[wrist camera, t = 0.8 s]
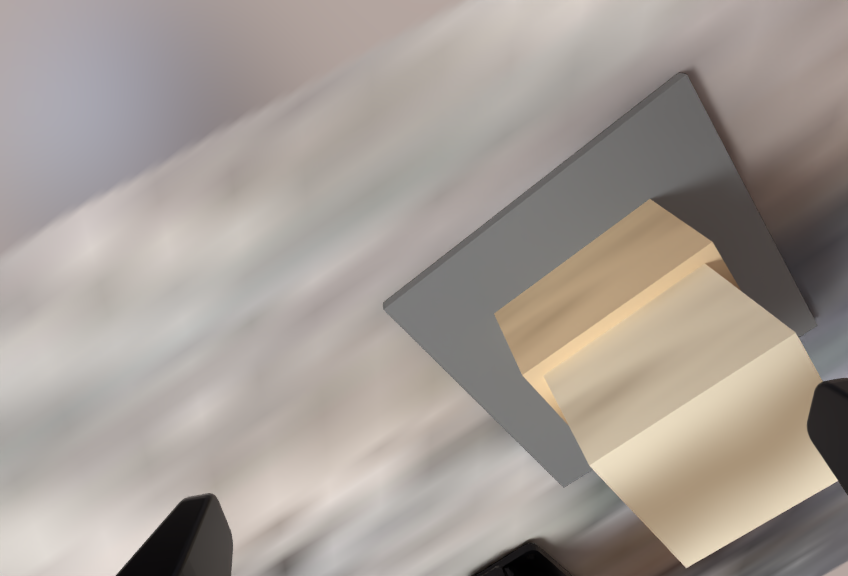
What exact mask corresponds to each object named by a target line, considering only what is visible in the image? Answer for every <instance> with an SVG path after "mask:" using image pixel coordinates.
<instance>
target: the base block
mask: <svg viewBox="0 0 848 576" xmlns="http://www.w3.org/2000/svg"><path fill="white" fill-rule="evenodd" d="M703 264H706V265H707V266H709V267H710V268H711V269H713V270H714V271H715V272H717V273H718V274H719V275H721V276H722V277H723V278H725V279H726V280H727V281H728V282H730V283H731V284H732V285H734V286H735V287H736V288H738V289H739V290H740V288H739V286H738V284H737V283H736V281H735V279H734V278H733V276H732V274H731V273H730V271H729V269H728V267H727V266H726V264H725V262H724V261H723V259H722V257H721V255H720V254H719V252H718V250H717V249H716V247H715V245H714V244H713V242H712V241H710V240H709V239H708V238H706V237H705V236H703V235H702V234H700V233H699V232H697V231H696V230H694V229H693V228H692V227H690V226H689V225H687V224H686V223H684V222H683V221H681V220H680V219H678V218H677V217H676V216H674V215H673V214H671V213H670V212H668V211H667V210H665V209H664V208H662V207H661V206H660V205H658V204H657V203H655V202H654V201H652V200H651V199H649V200H648V201H646V202H645V203H644V204H642V205H641V206H639V207H638V208H637V209H635V210H634V211H633V212H631V213H630V214H629V215H627V216H626V217H625V218H623V219H622V220H620V221H619V222H618V223H616V224H615V225H614V226H612V227H611V228H610V229H608V230H607V231H606V232H604V233H603V234H601V235H600V236H599V237H597V238H596V239H595V240H593V241H592V242H591V243H589V244H588V245H586V246H585V247H584V248H582V249H581V250H580V251H578V252H577V253H576V254H574V255H573V256H572V257H570V258H569V259H567V260H566V261H565V262H563V263H562V264H561V265H559V266H558V267H557V268H555V269H554V270H553V271H551V272H550V273H548V274H547V275H546V276H544V277H543V278H542V279H540V280H539V281H538V282H536V283H535V284H534V285H532V286H531V287H529V288H528V289H527V290H525V291H524V292H523V293H521V294H520V295H519V296H517V297H516V298H515V299H513V300H512V301H510V302H509V303H508V304H506V305H505V306H504V307H502V308H501V309H500V310H498V311H497V312H496V313H494V315H495V317H496V319H497V321H498V324H499V326H500V328H501V330H502V332H503V335H504V337H505V339H506V341H507V343H508V345H509V348H510V350H511V352H512V354H513V356H514V358H515V361H516V363H517V365H518V367H519V369H520V371H521V374H522V376H523V377H524V378H525V379H526V380H527V381H528V382H529V383H530V384H531V385H532V386H533V387H534V389H535V390H536V391H537V392H538V393H539V394H540V395H541V396H542V397H543V398H544V399H545V400H546V402H547V403H548V404H549V405H550V406H551V407H552V408H553V409H554V410H555V411H556V412H557V413H558V415H559V416H560V417H561V418H562V419H563V420H564V421H565V422H566V423H567V421H566V419H565V417H564V415H563V413H562V411H561V409H560V407H559V406H558V404H557V402H556V400H555V398H554V396H553V394H552V392H551V390H550V388H549V386H548V384H547V382H546V380H545V378H544V376H543V375H545V374H546V373H548V372H549V371H551V370H552V369H553V368H555V367H556V366H558V365H559V364H561V363H562V362H563V361H565V360H566V359H568V358H569V357H571V356H572V355H574V354H575V353H576V352H578V351H579V350H581V349H582V348H584V347H585V346H587V345H588V344H589V343H591V342H592V341H594V340H595V339H597V338H598V337H599V336H601V335H602V334H604V333H605V332H607V331H608V330H610V329H611V328H612V327H614V326H615V325H617V324H618V323H620V322H621V321H623V320H624V319H625V318H627V317H628V316H630V315H631V314H633V313H634V312H636V311H637V310H638V309H640V308H641V307H643V306H644V305H646V304H647V303H648V302H650V301H651V300H653V299H654V298H656V297H657V296H659V295H660V294H661V293H663V292H664V291H666V290H667V289H669V288H670V287H672V286H673V285H674V284H676V283H677V282H679V281H680V280H682V279H683V278H685V277H686V276H687V275H689V274H690V273H692V272H693V271H695V270H696V269H697V268H699V267H700V266H702V265H703ZM740 291H741V290H740ZM567 424H568V423H567Z"/></svg>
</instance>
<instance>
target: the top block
mask: <svg viewBox="0 0 848 576" xmlns="http://www.w3.org/2000/svg"><path fill="white" fill-rule="evenodd" d="M543 376H544V378H545V380H546V382H547V384H548V386H549V388H550V390H551V392H552V394H553V396H554V398H555V400H556V402H557V404H558V406H559V407H560V409H561V411H562V413H563V415H564V417H565V419H566V421H567V423H568V425H569V427H570V429H571V431H572V433H573V435H574V437H575V439H576V441H577V443H578V444H579V446H580V448H581V450H582V452H583V454H584V456H585V458H586V460H587V462H588V464H589V466H590V467H591V468H592V469H593V470H594V471H595V472H596V473H597V474H598V475H599V476H600V477H601V478H602V479H603V480H604V482H605V483H606V484H607V485H608V486H609V487H610V488H611V489H612V490H613V491H614V492H615V493H616V494H617V495H618V496H619V497H620V498H621V500H622V501H623V502H624V503H625V504H626V505H627V506H628V507H629V508H630V509H631V510H632V511H633V512H634V513H635V514H636V515H637V516H638V518H639V519H640V520H641V521H642V522H643V523H644V524H645V525H646V526H647V527H648V528H649V529H650V530H651V531H652V532H653V533H654V534H655V536H656V537H657V538H658V539H659V540H660V541H661V542H662V543H663V544H664V545H665V546H666V547H667V548H668V549H669V550H670V551H671V553H672V554H673V555H674V556H675V557H676V558H677V559H678V560H679V561H680V562H681V563H682V564H683V565H684V566H685V567H686V568H687V567H689V566H691V565H692V564H694V563H696V562H698V561H699V560H701V559H703V558H705V557H706V556H708V555H710V554H712V553H713V552H715V551H717V550H719V549H720V548H722V547H724V546H725V545H727V544H729V543H731V542H732V541H734V540H736V539H738V538H739V537H741V536H743V535H745V534H746V533H748V532H750V531H752V530H753V529H755V528H757V527H758V526H760V525H762V524H764V523H765V522H767V521H769V520H771V519H772V518H774V517H776V516H778V515H779V514H781V513H783V512H785V511H786V510H788V509H790V508H792V507H793V506H795V505H797V504H798V503H800V502H802V501H804V500H805V499H807V498H809V497H811V496H812V495H814V494H816V493H818V492H819V491H821V490H823V489H825V488H826V487H828V486H830V485H832V484H833V483H835V482H837V481H838V480H837V478H836V477H835V475H834V474H833V473H832V471H831V470H830V468H829V467H828V465H827V464H826V462H825V461H824V459H823V458H822V456H821V455H820V453H819V452H818V450H817V449H816V447H815V446H814V444H813V443H812V441H811V440H810V437H809V435H808V432H807V419H808V415H809V411H810V406H811V402H812V398H813V394H814V390H815V388H816V386H817V385H818V384H819V383H821V382H823V381H822V379H821V378H820V376H819V374H818V372H817V370H816V369H815V367H814V365H813V363H812V361H811V359H810V358H809V356H808V354H807V352H806V350H805V349H804V347H803V345H802V343H801V341H800V339H799V338H798V336H797V334H796V333H795V332H794V331H793V330H792V329H790V328H789V327H788V326H786V325H785V324H784V323H782V322H781V321H780V320H778V319H777V318H776V317H774V316H773V315H772V314H771V313H769V312H768V311H767V310H765V309H764V308H763V307H761V306H760V305H759V304H757V303H756V302H755V301H753V300H752V299H751V298H750V297H748V296H747V295H746V294H744V293H743V292H742V291H740V290H739V289H738V288H736V287H735V286H734V285H732V284H731V283H730V282H728V281H727V280H726V279H725V278H723V277H722V276H721V275H719V274H718V273H717V272H715V271H714V270H713V269H711V268H710V267H709V266H707V265H706V264H703V265H702V266H700V267H699V268H697V269H696V270H695V271H693V272H692V273H690V274H689V275H687V276H686V277H685V278H683V279H682V280H680V281H679V282H677V283H676V284H674V285H673V286H672V287H670V288H669V289H667V290H666V291H664V292H663V293H661V294H660V295H659V296H657V297H656V298H654V299H653V300H651V301H650V302H648V303H647V304H646V305H644V306H643V307H641V308H640V309H638V310H637V311H636V312H634V313H633V314H631V315H630V316H628V317H627V318H625V319H624V320H623V321H621V322H620V323H618V324H617V325H615V326H614V327H612V328H611V329H610V330H608V331H607V332H605V333H604V334H602V335H601V336H599V337H598V338H597V339H595V340H594V341H592V342H591V343H589V344H588V345H587V346H585V347H584V348H582V349H581V350H579V351H578V352H576V353H575V354H574V355H572V356H571V357H569V358H568V359H566V360H565V361H563V362H562V363H561V364H559V365H558V366H556V367H555V368H553V369H552V370H551V371H549V372H548V373H546V374H545V375H543Z"/></svg>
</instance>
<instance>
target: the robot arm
mask: <svg viewBox="0 0 848 576" xmlns="http://www.w3.org/2000/svg"><path fill="white" fill-rule="evenodd" d="M807 432H808V435H809V437H810V440H811V441H812V443H813V444H814V446H815V447H816V449H817V450H818V452H819V453H820V455H821V456H822V458H823V459H824V461H825V462H826V464H827V465H828V467H829V468H830V470H831V471H832V473H833V474H834V475H835V477H836V478H837V480H838V481H839V483H840V484H841V486H842V487H843V489H844V490H845V492H846V493H847V495H848V378H840V379H834V380H829V381H824V382H821V383H819V384H818V385H817V386H816V388H815V390H814V394H813V398H812V402H811V406H810V411H809V415H808V419H807ZM232 554H233V540H232V534H231V530H230V528H229V525H228V523H227V520H226V518H225V516H224V513H223V511H222V508H221V506H220V503H219V501H218V499H217V497H216V496H215V495H214V494H211V493H207V494H202V495H196V496H191V497H187V498H184V499H183V500H182V501H181V502H180V503H179V504H178V505H177V506H176V507H175V508H174V509H173V511H172V512H171V513H170V514H169V515H168V516H167V517H166V519H165V520H164V521H163V522H162V523H161V524H160V525H159V527H158V528H157V529H156V530H155V531H154V532H153V534H152V535H151V536H150V537H149V538H148V539H147V540H146V542H145V543H144V544H143V545H142V546H141V547H140V548H139V550H138V551H137V552H136V553H135V554H134V555H133V556H132V558H131V559H130V560H129V561H128V562H127V563H126V564H125V566H124V567H123V568H122V569H121V570H120V571H119V572H118V574H117V575H116V576H231V569H232ZM476 576H572V575H571V574H570V573H568V572H567V571H566V570H565V569H564V568H563V567H562V566H560V565H559V564H558V563H557V562H556V561H555V560H554V559H552V558H551V557H550V556H549V555H548V554H547V553H546V552H544V551H543V550H542V549H541V548H540V547H539V546H537V545H536V544H533V543H529V544H526V545H523V546H522V547H520V548H519V549H517V550H515V551H514V552H512V553H511V554H509V555H507V556H506V557H504V558H503V559H501V560H500V561H498V562H496V563H495V564H493V565H492V566H490V567H488V568H487V569H485V570H484V571H482V572H480V573H479V574H477V575H476Z"/></svg>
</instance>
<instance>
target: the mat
mask: <svg viewBox="0 0 848 576" xmlns="http://www.w3.org/2000/svg"><path fill="white" fill-rule="evenodd" d="M649 199H651V200H652V201H654V202H655V203H657V204H658V205H660V206H661V207H662V208H664V209H665V210H667V211H668V212H670V213H671V214H673V215H674V216H676V217H677V218H678V219H680V220H681V221H683V222H684V223H686V224H687V225H689V226H690V227H692V228H693V229H694V230H696V231H697V232H699V233H700V234H702V235H703V236H705V237H706V238H708V239H709V240H710V241H712V242H713V244H714V245H715V247H716V249H717V250H718V252H719V254H720V255H721V257H722V259H723V261H724V262H725V264H726V266H727V267H728V269H729V271H730V273H731V274H732V276H733V278H734V279H735V281H736V283H737V284H738V286H739V288H740V290H741V291H742V292H743V293H744V294H746V295H747V296H748V297H750V298H751V299H752V300H753V301H755V302H756V303H757V304H759V305H760V306H761V307H763V308H764V309H765V310H767V311H768V312H769V313H771V314H772V315H773V316H774V317H776V318H777V319H778V320H780V321H781V322H782V323H784V324H785V325H786V326H788V327H789V328H790V329H792V330H793V331H794V332H795V333H796V334H797V336H798V338H799V337H801V336H802V335H804V334H805V333H807V332H808V331H810V330H811V329H813V328H815V327H816V326H818V325H817V323H816V322H815V320H814V318H813V316H812V314H811V312H810V310H809V308H808V306H807V304H806V302H805V300H804V298H803V297H802V295H801V293H800V291H799V289H798V287H797V285H796V283H795V281H794V279H793V277H792V275H791V274H790V272H789V270H788V268H787V266H786V264H785V262H784V260H783V258H782V256H781V254H780V252H779V250H778V249H777V247H776V245H775V243H774V241H773V239H772V237H771V235H770V233H769V231H768V229H767V227H766V225H765V224H764V222H763V220H762V218H761V216H760V214H759V212H758V210H757V208H756V206H755V204H754V202H753V200H752V199H751V197H750V195H749V193H748V191H747V189H746V187H745V185H744V183H743V181H742V179H741V177H740V176H739V174H738V172H737V170H736V168H735V166H734V164H733V162H732V160H731V158H730V156H729V154H728V152H727V151H726V149H725V147H724V145H723V143H722V141H721V139H720V137H719V135H718V133H717V131H716V129H715V127H714V126H713V124H712V122H711V120H710V118H709V116H708V114H707V112H706V110H705V108H704V106H703V104H702V103H701V101H700V99H699V97H698V95H697V93H696V91H695V89H694V87H693V85H692V83H691V81H690V79H689V78H688V76H687V74H683V73H678V74H676V75H675V76H674V77H672V78H671V79H670V80H669V81H667V82H666V83H665V84H663V85H662V86H661V87H660V88H658V89H657V90H656V91H654V92H653V93H652V94H651V95H649V96H648V97H647V98H646V99H644V100H643V101H642V102H640V103H639V104H638V105H637V106H635V107H634V108H633V109H631V110H630V111H629V112H628V113H626V114H625V115H624V116H622V117H621V118H620V119H619V120H617V121H616V122H615V123H613V124H612V125H611V126H610V127H608V128H607V129H606V130H604V131H603V132H602V133H601V134H599V135H598V136H597V137H595V138H594V139H593V140H592V141H590V142H589V143H588V144H586V145H585V146H584V147H583V148H581V149H580V150H579V151H577V152H576V153H575V154H574V155H572V156H571V157H570V158H569V159H567V160H566V161H565V162H563V163H562V164H561V165H560V166H558V167H557V168H556V169H554V170H553V171H552V172H551V173H549V174H548V175H547V176H545V177H544V178H543V179H542V180H540V181H539V182H538V183H536V184H535V185H534V186H533V187H531V188H530V189H529V190H527V191H526V192H525V193H524V194H522V195H521V196H520V197H518V198H517V199H516V200H515V201H513V202H512V203H511V204H509V205H508V206H507V207H506V208H504V209H503V210H502V211H500V212H499V213H498V214H497V215H495V216H494V217H493V218H491V219H490V220H489V221H488V222H486V223H485V224H484V225H483V226H481V227H480V228H479V229H477V230H476V231H475V232H474V233H472V234H471V235H470V236H468V237H467V238H466V239H465V240H463V241H462V242H461V243H459V244H458V245H457V246H456V247H454V248H453V249H452V250H450V251H449V252H448V253H447V254H445V255H444V256H443V257H441V258H440V259H439V260H438V261H436V262H435V263H434V264H432V265H431V266H430V267H429V268H427V269H426V270H425V271H423V272H422V273H421V274H420V275H418V276H417V277H416V278H414V279H413V280H412V281H411V282H409V283H408V284H407V285H406V286H404V287H403V288H402V289H400V290H399V291H398V292H397V293H395V294H394V295H393V296H391V297H390V298H389V299H388V300H386V301H385V302H384V303H383V309H384V310H385V311H386V312H387V313H388V314H389V315H390V316H391V317H392V318H393V319H394V320H395V321H396V322H397V323H398V324H399V325H400V326H401V327H402V328H403V329H404V330H405V331H406V332H407V333H408V334H409V335H410V336H411V337H412V338H413V339H414V340H415V341H416V342H417V343H418V344H419V345H420V346H421V347H422V348H423V349H424V350H425V351H426V352H427V353H428V354H429V355H430V356H431V357H432V358H433V359H434V360H435V361H436V362H437V363H438V364H439V365H440V366H441V367H442V368H443V369H444V370H445V371H446V372H447V373H448V374H449V375H450V376H451V377H452V378H453V379H454V380H455V381H456V382H457V383H458V384H459V385H460V386H461V387H462V388H463V389H464V390H465V391H466V392H467V393H468V394H469V395H471V396H472V397H473V398H474V399H475V400H476V401H477V402H478V403H479V404H480V405H481V406H482V407H483V408H484V409H485V410H486V411H487V412H488V413H489V414H490V415H491V416H492V417H493V418H494V419H495V420H496V421H497V422H498V423H499V424H500V425H501V426H502V427H503V428H504V429H505V430H506V431H507V432H508V433H509V434H510V435H511V436H512V437H513V438H514V439H515V440H516V441H517V442H518V443H519V444H520V445H521V446H522V447H523V448H524V449H525V450H526V451H527V452H528V453H529V454H530V455H531V456H532V457H533V458H534V459H535V460H536V461H537V462H538V463H539V464H540V465H541V466H542V467H543V468H544V469H545V470H546V471H547V472H548V473H549V474H550V475H551V476H552V477H553V478H554V479H555V480H557V481H558V482H559V483H560V484H561V485H562V486H563V487H566V486H568V485H569V484H571V483H572V482H574V481H575V480H577V479H579V478H580V477H582V476H583V475H585V474H586V473H588V472H590V471H591V470H593V469H592V468H591V467H590V466H589V464H588V462H587V460H586V458H585V456H584V454H583V452H582V450H581V448H580V446H579V444H578V443H577V441H576V439H575V437H574V435H573V433H572V431H571V429H570V427H569V425H568V424H567V423H566V422H565V421H564V420H563V419H562V418H561V417H560V416H559V415H558V413H557V412H556V411H555V410H554V409H553V408H552V407H551V406H550V405H549V404H548V403H547V402H546V400H545V399H544V398H543V397H542V396H541V395H540V394H539V393H538V392H537V391H536V390H535V389H534V387H533V386H532V385H531V384H530V383H529V382H528V381H527V380H526V379H525V378H524V377H523V376H522V374H521V371H520V369H519V367H518V365H517V363H516V361H515V358H514V356H513V354H512V352H511V350H510V348H509V345H508V343H507V341H506V339H505V337H504V335H503V332H502V330H501V328H500V326H499V324H498V321H497V319H496V317H495V315H494V313H496V312H497V311H498V310H500V309H501V308H502V307H504V306H505V305H506V304H508V303H509V302H510V301H512V300H513V299H515V298H516V297H517V296H519V295H520V294H521V293H523V292H524V291H525V290H527V289H528V288H529V287H531V286H532V285H534V284H535V283H536V282H538V281H539V280H540V279H542V278H543V277H544V276H546V275H547V274H548V273H550V272H551V271H553V270H554V269H555V268H557V267H558V266H559V265H561V264H562V263H563V262H565V261H566V260H567V259H569V258H570V257H572V256H573V255H574V254H576V253H577V252H578V251H580V250H581V249H582V248H584V247H585V246H586V245H588V244H589V243H591V242H592V241H593V240H595V239H596V238H597V237H599V236H600V235H601V234H603V233H604V232H606V231H607V230H608V229H610V228H611V227H612V226H614V225H615V224H616V223H618V222H619V221H620V220H622V219H623V218H625V217H626V216H627V215H629V214H630V213H631V212H633V211H634V210H635V209H637V208H638V207H639V206H641V205H642V204H644V203H645V202H646V201H648V200H649Z"/></svg>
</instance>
